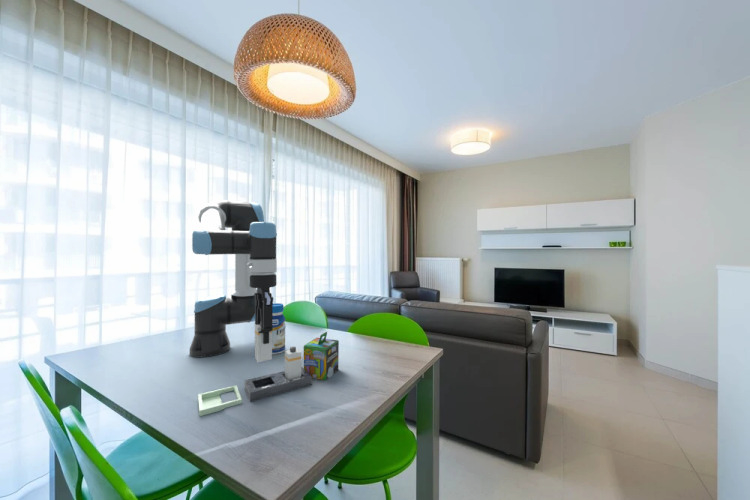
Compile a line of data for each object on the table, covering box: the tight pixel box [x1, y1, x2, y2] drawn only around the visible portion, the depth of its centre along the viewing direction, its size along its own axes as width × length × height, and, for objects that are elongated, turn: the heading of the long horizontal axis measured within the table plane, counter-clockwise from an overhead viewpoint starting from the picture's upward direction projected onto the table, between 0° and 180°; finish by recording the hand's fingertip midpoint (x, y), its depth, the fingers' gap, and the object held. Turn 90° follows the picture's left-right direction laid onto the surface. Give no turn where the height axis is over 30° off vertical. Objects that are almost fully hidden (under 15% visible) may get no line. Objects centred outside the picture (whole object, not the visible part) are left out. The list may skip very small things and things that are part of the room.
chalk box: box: [303, 331, 340, 381], centre depth 98 cm, size 9×9×15 cm
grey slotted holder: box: [243, 366, 313, 402], centre depth 88 cm, size 9×18×4 cm, turn 124°
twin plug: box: [284, 346, 302, 380], centre depth 91 cm, size 4×4×11 cm
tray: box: [197, 384, 243, 417], centre depth 80 cm, size 10×10×2 cm
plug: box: [254, 321, 273, 363], centre depth 85 cm, size 4×4×11 cm
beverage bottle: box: [272, 302, 286, 355], centre depth 122 cm, size 8×8×20 cm
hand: (263, 351), depth 85 cm, fingers closed on plug, 4 cm apart
